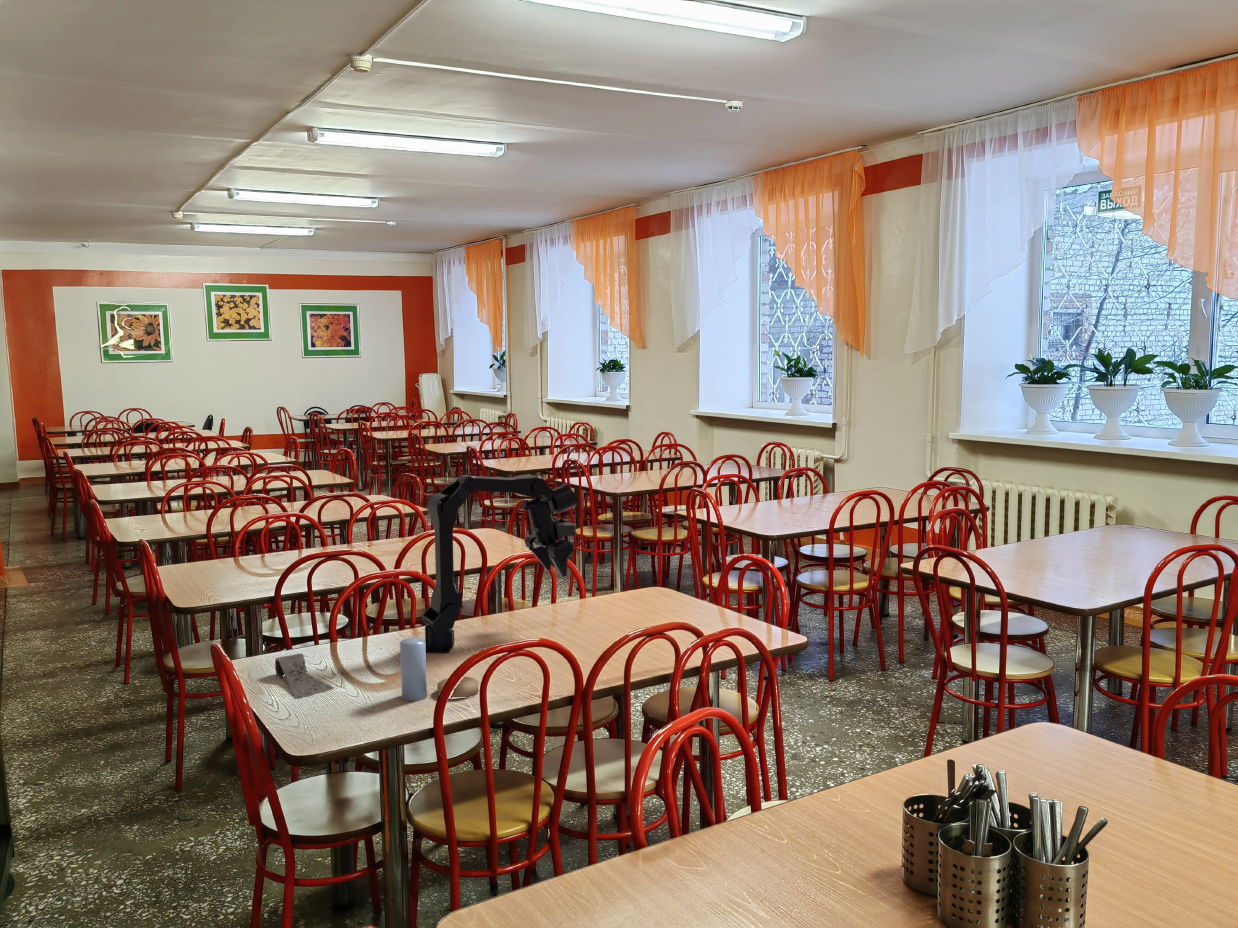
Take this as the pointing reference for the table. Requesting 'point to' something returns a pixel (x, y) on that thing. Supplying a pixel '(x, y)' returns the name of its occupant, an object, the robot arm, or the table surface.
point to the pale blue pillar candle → (413, 669)
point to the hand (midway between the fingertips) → (556, 572)
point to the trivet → (462, 687)
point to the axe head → (299, 676)
